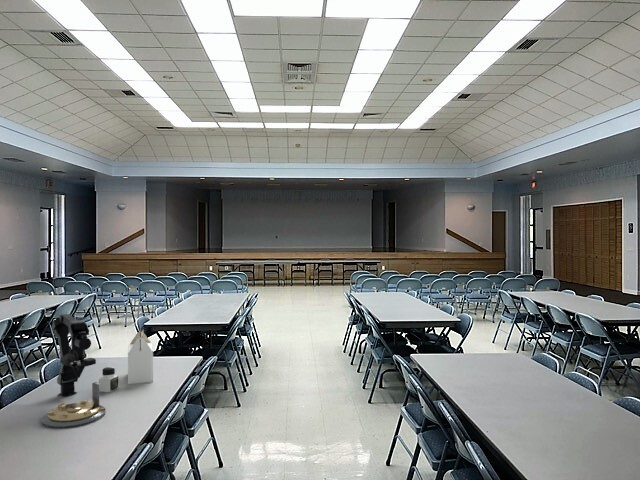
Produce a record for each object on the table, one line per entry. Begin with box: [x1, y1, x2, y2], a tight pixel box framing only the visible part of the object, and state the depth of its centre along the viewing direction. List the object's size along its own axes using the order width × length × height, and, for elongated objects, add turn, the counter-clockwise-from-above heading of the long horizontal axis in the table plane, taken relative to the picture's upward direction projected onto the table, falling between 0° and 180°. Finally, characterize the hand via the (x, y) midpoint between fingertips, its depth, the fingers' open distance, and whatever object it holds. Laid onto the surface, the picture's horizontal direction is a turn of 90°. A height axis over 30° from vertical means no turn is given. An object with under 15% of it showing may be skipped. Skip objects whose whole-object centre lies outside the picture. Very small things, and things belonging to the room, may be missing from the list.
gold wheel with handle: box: [47, 381, 100, 422], centre depth 222 cm, size 21×21×12 cm
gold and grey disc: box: [41, 404, 106, 429], centre depth 223 cm, size 26×26×2 cm
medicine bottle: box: [98, 366, 119, 393], centre depth 261 cm, size 7×7×12 cm
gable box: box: [127, 327, 154, 385], centre depth 283 cm, size 22×13×28 cm, turn 20°
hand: (78, 377), depth 243 cm, fingers closed
